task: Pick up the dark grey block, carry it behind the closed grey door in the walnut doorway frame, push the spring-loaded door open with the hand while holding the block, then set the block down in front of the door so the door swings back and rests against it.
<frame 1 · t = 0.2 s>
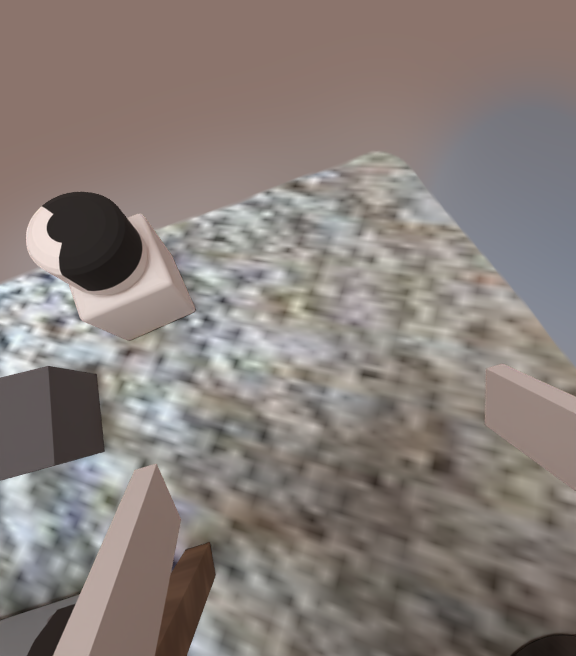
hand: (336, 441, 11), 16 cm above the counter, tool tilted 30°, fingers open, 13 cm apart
doorframe: (52, 611, 22), on the counter
medicine bottle: (151, 297, 29), on the counter
dark grey block: (66, 420, 26), on the counter
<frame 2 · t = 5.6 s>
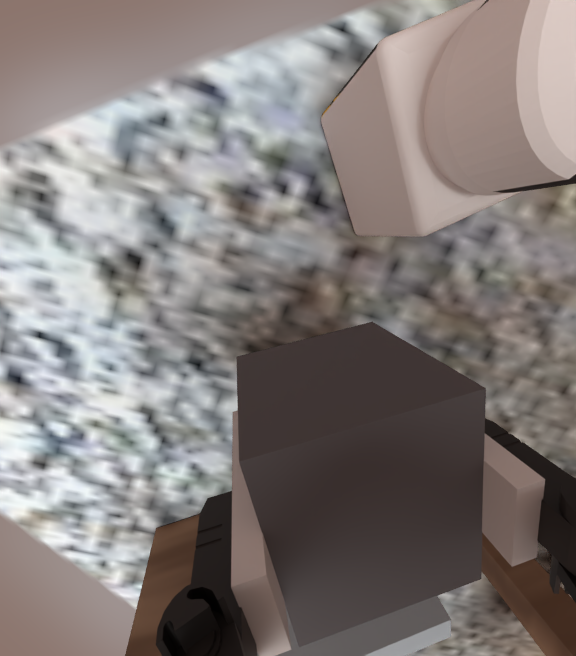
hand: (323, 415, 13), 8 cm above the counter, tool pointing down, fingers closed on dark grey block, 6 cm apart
doorframe: (291, 495, 25), on the counter
medicine bottle: (387, 159, 18), on the counter
door: (305, 566, 19), point 6 cm above the counter, hinge at 0.0°
dark grey block: (319, 408, 13), point 8 cm above the counter, touching gripper
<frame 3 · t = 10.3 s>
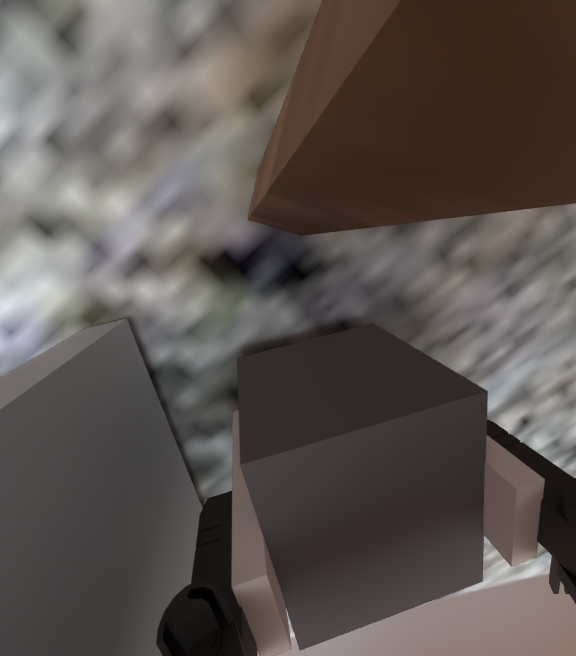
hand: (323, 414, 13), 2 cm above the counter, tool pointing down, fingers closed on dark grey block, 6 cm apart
doorframe: (223, 437, 15), on the counter
door: (106, 583, 9), point 6 cm above the counter, hinge at 27.1°, touching gripper, hand
dark grey block: (320, 409, 13), point 2 cm above the counter, touching gripper
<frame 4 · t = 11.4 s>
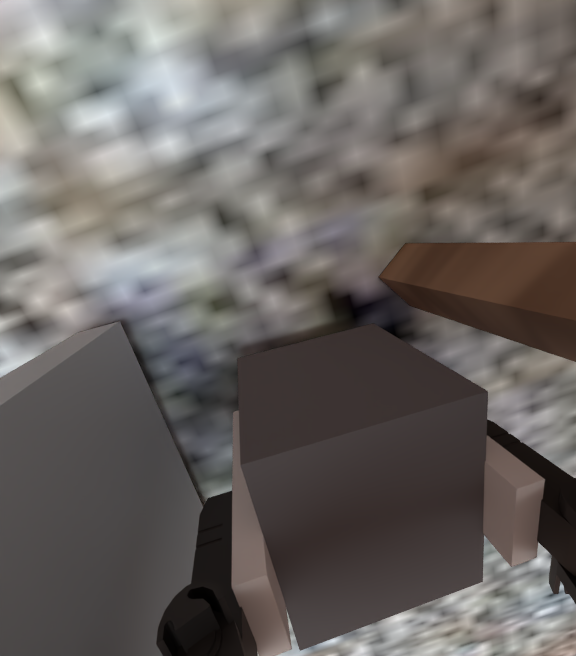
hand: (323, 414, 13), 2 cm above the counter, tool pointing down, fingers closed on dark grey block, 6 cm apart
doorframe: (268, 449, 15), on the counter
door: (105, 586, 9), point 6 cm above the counter, hinge at 51.8°, touching hand
dark grey block: (320, 409, 13), point 2 cm above the counter, touching gripper
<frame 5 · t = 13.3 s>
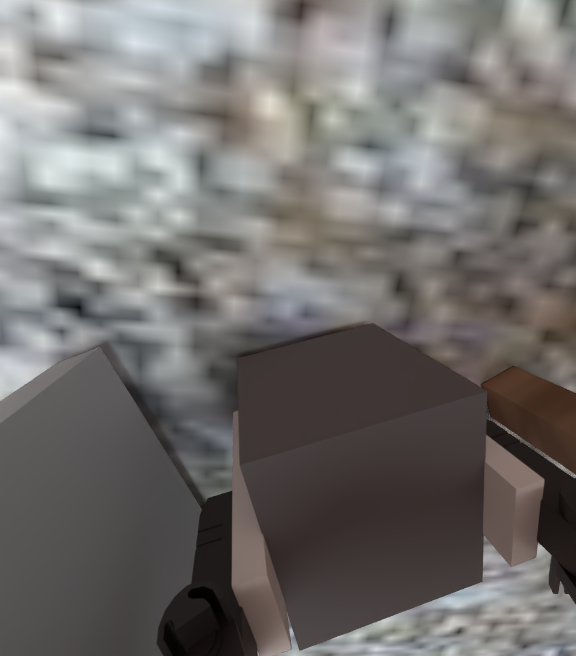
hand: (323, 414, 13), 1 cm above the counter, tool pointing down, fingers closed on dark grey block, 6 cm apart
doorframe: (318, 495, 15), on the counter
door: (102, 642, 8), point 6 cm above the counter, hinge at 82.8°, touching hand
dark grey block: (320, 409, 13), point 1 cm above the counter, touching gripper
when the fingers open (1 cm above the counter, at t = 13.5 s): dark grey block stays where it is, on the counter.
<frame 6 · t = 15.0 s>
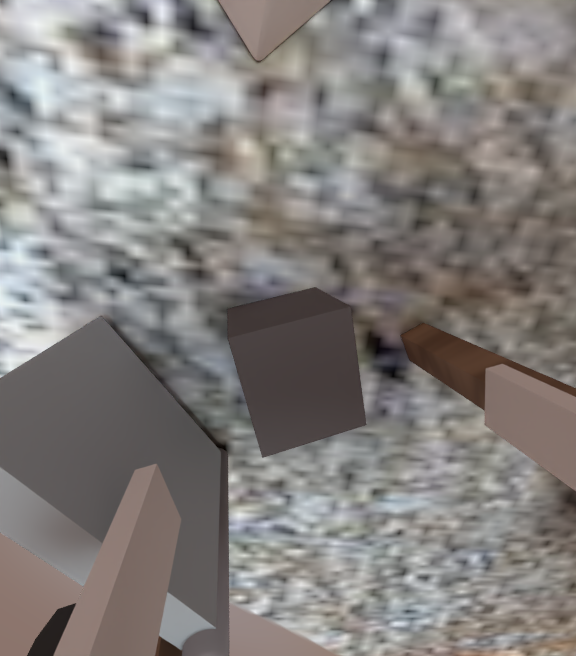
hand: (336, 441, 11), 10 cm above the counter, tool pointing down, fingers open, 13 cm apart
doorframe: (285, 414, 22), on the counter
door: (133, 468, 14), point 6 cm above the counter, hinge at 93.2°
dark grey block: (282, 345, 20), on the counter
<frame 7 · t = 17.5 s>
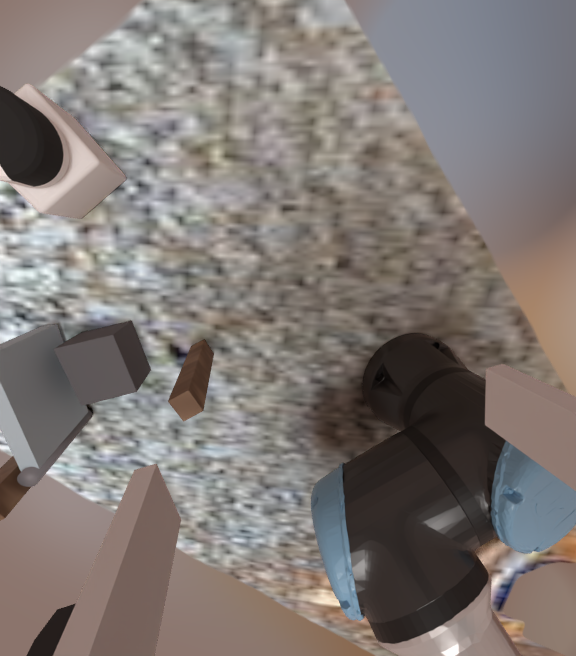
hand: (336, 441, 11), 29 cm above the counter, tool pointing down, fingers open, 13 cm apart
doorframe: (126, 391, 38), on the counter
medicine bottle: (78, 171, 31), on the counter
door: (36, 397, 31), point 6 cm above the counter, hinge at 69.2°
dark grey block: (118, 351, 37), on the counter
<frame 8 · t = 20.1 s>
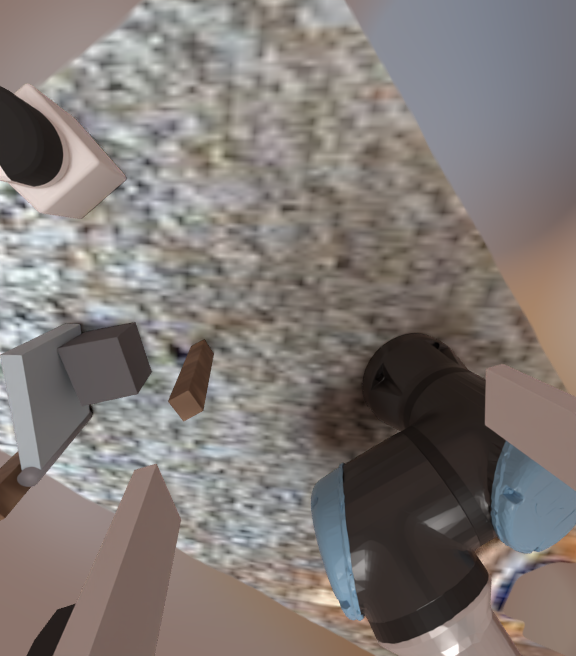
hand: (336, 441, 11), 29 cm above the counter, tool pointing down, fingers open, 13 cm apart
doorframe: (126, 391, 38), on the counter
medicine bottle: (78, 171, 31), on the counter
door: (48, 396, 31), point 6 cm above the counter, hinge at 58.0°
dark grey block: (119, 352, 37), on the counter
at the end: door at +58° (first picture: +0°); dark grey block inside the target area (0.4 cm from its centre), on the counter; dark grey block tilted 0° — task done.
